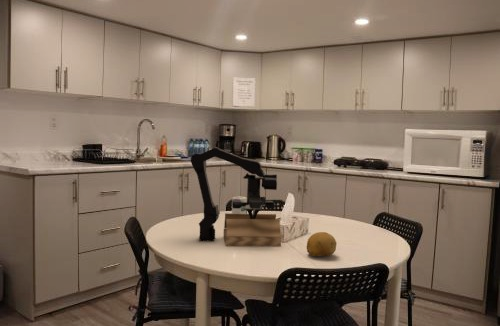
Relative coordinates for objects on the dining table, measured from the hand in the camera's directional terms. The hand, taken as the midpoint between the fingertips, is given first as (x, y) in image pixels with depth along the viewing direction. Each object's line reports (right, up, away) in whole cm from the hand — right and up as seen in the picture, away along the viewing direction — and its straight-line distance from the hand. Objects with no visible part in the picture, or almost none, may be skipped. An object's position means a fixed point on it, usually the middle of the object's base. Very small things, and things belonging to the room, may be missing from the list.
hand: (252, 223), depth 193 cm
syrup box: (-7, -6, +34) cm, 35 cm away
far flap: (-1, 0, +7) cm, 7 cm away
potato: (+28, -11, -16) cm, 34 cm away
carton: (-1, -8, +2) cm, 9 cm away
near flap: (+1, -2, -4) cm, 4 cm away
